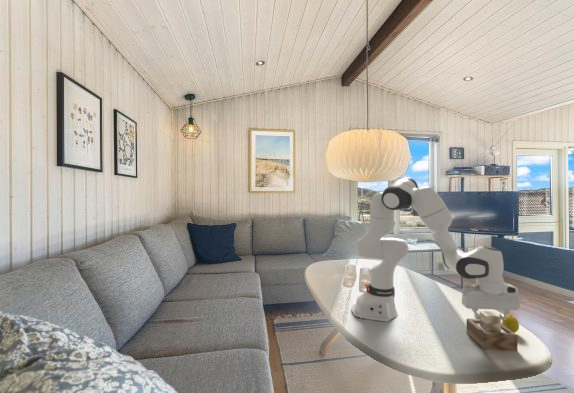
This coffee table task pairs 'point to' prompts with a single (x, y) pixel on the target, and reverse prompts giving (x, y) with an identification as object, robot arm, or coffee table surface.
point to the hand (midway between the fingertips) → (490, 318)
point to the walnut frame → (492, 337)
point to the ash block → (490, 321)
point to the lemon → (511, 323)
